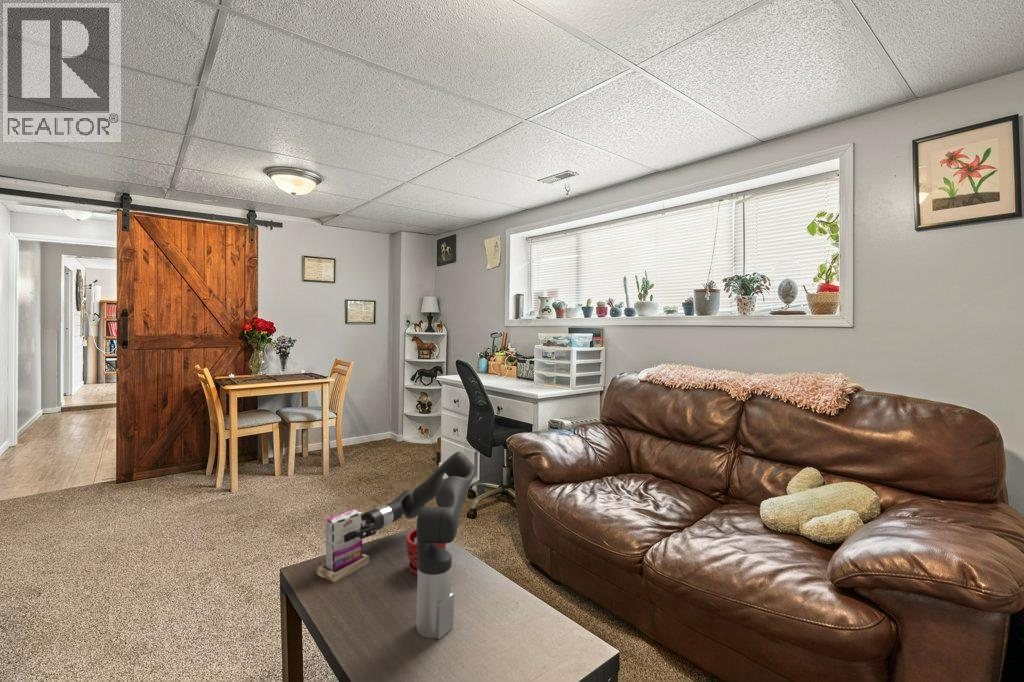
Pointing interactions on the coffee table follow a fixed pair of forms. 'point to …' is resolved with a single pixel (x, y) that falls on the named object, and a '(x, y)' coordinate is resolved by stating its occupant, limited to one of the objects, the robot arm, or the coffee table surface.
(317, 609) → the coffee table surface
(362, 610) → the coffee table surface
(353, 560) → the candy bar box
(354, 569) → the birch collar
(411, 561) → the plant pot
